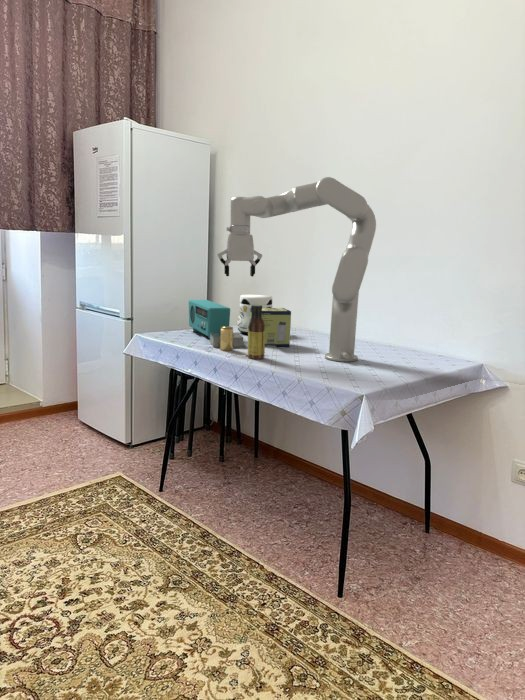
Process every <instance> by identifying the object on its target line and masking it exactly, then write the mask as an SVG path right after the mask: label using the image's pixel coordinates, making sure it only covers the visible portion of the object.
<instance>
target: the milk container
mask: <svg viewBox="0 0 525 700" xmlns="http://www.w3.org/2000/svg"><path fill="white" fill-rule="evenodd" d="M251 305H262V308H273V296H271V295H266V294H241V295H240V297H239V315H238V317H237V320H236V321H237V322H236V323H237V324H236V325H237V330H238V332H239V333H242V334H247V335H248V326H249V323H250V308H251Z"/></svg>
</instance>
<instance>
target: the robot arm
mask: <svg viewBox="0 0 525 700" xmlns="http://www.w3.org/2000/svg"><path fill="white" fill-rule="evenodd" d="M326 205H329V206H330V207H331V208H332V209H335V210H336V211H338V212H339V213H341V214H343V215H344V216H346V218H348V219H349V220H350V221H351V222H352V224H351V225H352V228H351V231H350V234H349V238H348V242H347V245H346V249H345V250H344V251H343V253H342V254H341V257H340V260H339V263H338V267H337V270H336V274H335V277H334V280H333V283H332V286H331V292H332V293H331V294H332V303H331V318H330V332H329V349H328V352H327V353H325V354H324V358H325V359H326V360H329V361H333V362H355V361H358V359H359V356H358V355H356V354H355V347H356V334H357V332H356V331H357V319H358V307H359V306H358V305H359V304H358V303H359V297H360V296H359V295H360V289H361V286H362V283H363V279H364V276H365V274H366V271H367V270H366V269H367V267H368V264H369V263H368V262H369V255H370V252H371V249H372V245H373V241H374V237H375V234H376V230H377V229H376V228H377V219H376V215H375V212H374V211H373V209H372V208H371V206H370V205H369V204H368V201H367V200H366V198H365V197H364V196H363V195H361V194H360V193H358V192H356V191H355V190H354V189H352V188H350V187H349V186H347V185H345V184H343V183H342V182H340V181H339V180H338V179H336V178H334V177H331V176H325V177H323V178H321V179H320V180H319V181H316V182H313V183H307V184H303V185H299V186H295V187H293V188H290V189H289V190H288V191H286V192H284V193H281V194H278V195H277V194H276V195H274V196H268V197H264V196H262V195H261V196H260V195H255V196H254V195H253V196H248V197H247V196H234V197H232V198H231V199H230V226H227V227H226V231H227V232H229V234H228V235H227V241H226V242H227V243H226V249H224V250H223V251H220V252H218V253H217V257H218V259H219V261H220V262H221V264H222V265H224V275H225V276H226V277H229V276H230V266H229V264H230V263H231V262H233V261H234V262H237V261H238V262H248V263H250V267H249V268H250V271H249V274H250V277H255V274H256V266H257V265H258V264H259V263H260V261H261V259H262V258H263V254H262V253H260V252H258V251H257V250H255V246H254V238H253V234H251V217H257V218H260V219H267V218H268V219H269V218H272V217H277V216H281V215H286V214H291V213H295V212H298V211H303V210H307V209H313V208H316V207H321V206H326ZM224 255H226V259H224V258H223V256H224ZM255 256H256V257H257V258H256V259H255ZM254 259H255V260H254Z"/></svg>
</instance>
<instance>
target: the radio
mask: <svg viewBox="0 0 525 700" xmlns="http://www.w3.org/2000/svg"><path fill="white" fill-rule="evenodd" d="M230 317H231V308H230V307H228V306H224V305H222V304H220V303H217V302H213V301H211V300H208V299H189V300H188V325H189V327H191V328H192V330H193V331H192V332H193V333H201V334H203V335H205V336H207V337H208V340H210V333H221V327H222V326H230V323H231V322H230V321H231V320H230V319H231V318H230Z"/></svg>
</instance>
